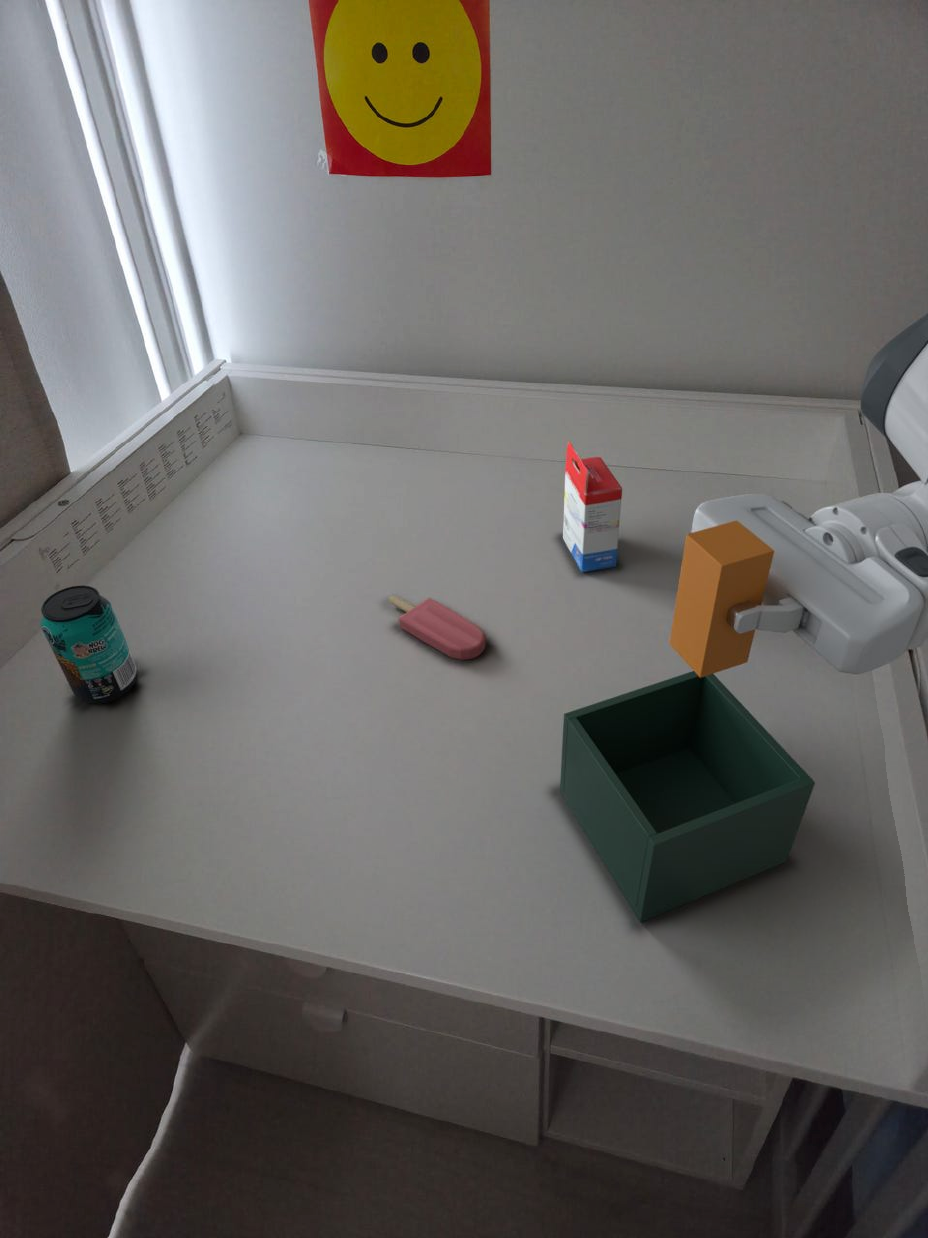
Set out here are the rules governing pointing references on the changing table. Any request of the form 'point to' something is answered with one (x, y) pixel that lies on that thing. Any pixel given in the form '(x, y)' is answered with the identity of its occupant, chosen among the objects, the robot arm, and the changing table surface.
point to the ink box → (591, 512)
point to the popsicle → (441, 628)
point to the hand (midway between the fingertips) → (709, 599)
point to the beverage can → (88, 644)
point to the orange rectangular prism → (717, 595)
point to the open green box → (680, 790)
